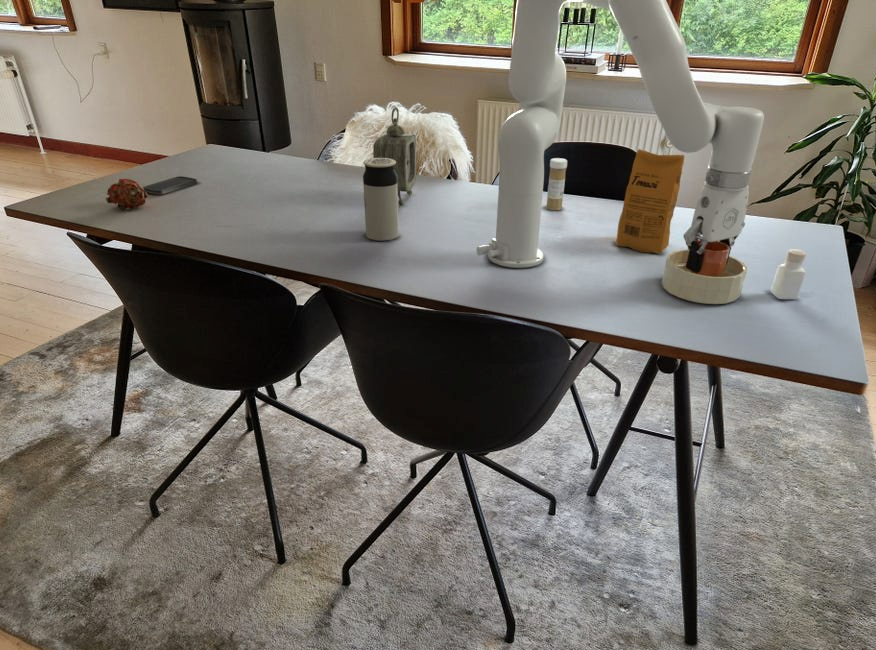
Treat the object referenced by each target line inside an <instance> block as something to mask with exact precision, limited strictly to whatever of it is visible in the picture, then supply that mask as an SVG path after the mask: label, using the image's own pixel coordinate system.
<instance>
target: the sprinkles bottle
mask: <svg viewBox="0 0 876 650" xmlns="http://www.w3.org/2000/svg"><path fill="white" fill-rule="evenodd" d="M567 168H568V160H567V159H566V158H560V157H555V158H554V157H553V158H551V159H550V160H549V176H548V186H547V195H546V197H547V198H546V205H545V208H546V209H547V210H550V211H561V210H562V209H563V199H564V193H565V182H566V171H567Z"/></svg>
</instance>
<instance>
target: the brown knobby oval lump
mask: <svg viewBox="0 0 876 650" xmlns="http://www.w3.org/2000/svg"><path fill="white" fill-rule="evenodd" d="M142 187H143V186H141V184H139V183H138V181H135V180H134V179H132V178H118V181H117V183H112V184H111V185H110V186H109V188H108V189H107V191H106V196H107V197H105V200H106V202H107V203H108V204H114V205H117V207H118V208H119V209H120V210H123V211H124V210H127V209H130V210H138V209H139V208H140V206H144V205H145V204H146V200H147V198H148V197H149V195H148V193H147V192H146V191H145V190H144V189H143V188H142Z"/></svg>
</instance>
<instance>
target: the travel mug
mask: <svg viewBox="0 0 876 650" xmlns="http://www.w3.org/2000/svg"><path fill="white" fill-rule="evenodd" d="M362 162H363V163H362V164H363V165H364V168H365V170H364V172H363V175H362V184H363V186H362V187H363V204H364V221H365V223H364V224H365V236H366V237H367V238H368V239H369V240H373V241H377V242H384V241H385V242H386V241H393V240H394V239H396V238H397V237H399V235H400V234H399V232H400V231H399V197H398V189H397V174H396V172H395V170H394V166H395V164H396V161H395V160H393V159H389V158H373V157H371V158H367V159H364V160H363V161H362Z"/></svg>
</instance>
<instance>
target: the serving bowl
mask: <svg viewBox="0 0 876 650" xmlns="http://www.w3.org/2000/svg"><path fill="white" fill-rule="evenodd" d="M688 254H689V250H688V248H687V249H680V250H674V251H672V252H670V253H669V254H667V256H666V260H665V265H664V270H663V274H662V278H661V285H662V287H663V289H664V290H666V291H667V292H668V293H669V294H671V295H673V296H675V297H678V298H679V299H683V300H684V301H685V300H686V301H688V302H692V303H698V304H705V305H706V304H707V305H720V304H729V303H732V302H735V301H736V300H738V299H739V298H740V297H741V293H742V290H743V287H744V282H745V278H746V275H747V271H748V266H747V265H746V264H745V262H743V261H742V260H739V259H738V258H736V257H733V256H731V255H729V259H728V263H727V265H726V266H725V270H724V273H722V274H721V275H720V276H718V277H711V276H704V275H698V274H694V273H692V272H690V271H689V269H687V268H686V264H687V259H688Z"/></svg>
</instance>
